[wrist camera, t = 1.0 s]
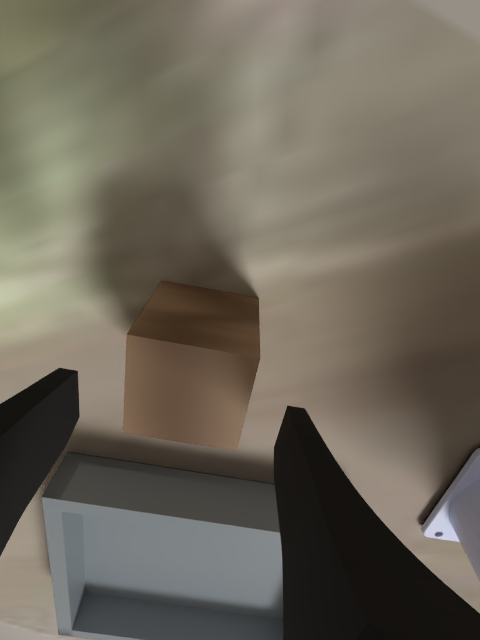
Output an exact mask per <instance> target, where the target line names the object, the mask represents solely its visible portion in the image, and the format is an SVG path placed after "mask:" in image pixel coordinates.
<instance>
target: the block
mask: <svg viewBox="0 0 480 640" xmlns="http://www.w3.org/2000/svg"><path fill="white" fill-rule="evenodd" d="M259 361H260V331H259V298H255V297H249V296H244V295H239V294H233V293H228V292H222V291H217V290H211V289H206V288H200V287H195V286H190V285H184V284H179V283H173V282H168V281H161V282H160V284H159V285H158V287H157V289H156V290H155V292H154V293H153V295H152V296H151V298H150V299H149V301H148V302H147V304H146V306H145V307H144V309H143V310H142V312H141V313H140V315H139V316H138V318H137V319H136V321H135V323H134V324H133V326H132V327H131V329H130V330H129V332H128V333H127V340H126V367H125V393H124V419H123V433H128V434H134V435H140V436H146V437H153V438H159V439H165V440H171V441H177V442H184V443H190V444H196V445H202V446H208V447H215V448H221V449H227V450H233V451H237V447H238V444H239V440H240V436H241V432H242V428H243V424H244V420H245V416H246V412H247V408H248V404H249V400H250V396H251V392H252V388H253V384H254V380H255V376H256V372H257V368H258V364H259Z"/></svg>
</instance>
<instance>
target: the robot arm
mask: <svg viewBox="0 0 480 640" xmlns="http://www.w3.org/2000/svg"><path fill="white" fill-rule="evenodd" d="M79 417H80V416H79V392H78V371H75V370H69V369H63V368H58V369H57V370H55V371H53V372H52V373H50V374H48V375H47V376H45V377H44V378H42V379H40V380H39V381H37V382H36V383H34V384H32V385H31V386H29V387H28V388H26V389H24V390H23V391H21V392H19V393H18V394H16V395H15V396H13V397H11V398H10V399H8V400H6V401H5V402H3V403H1V404H0V556H1V554H2V552H3V550H4V548H5V546H6V544H7V542H8V540H9V538H10V536H11V534H12V532H13V531H14V529H15V527H16V525H17V523H18V521H19V519H20V518H21V516H22V514H23V512H24V511H25V509H26V507H27V506H28V504H29V503H30V501H31V499H32V498H33V496H34V495H35V493H36V492H37V490H38V488H39V487H40V485H41V484H42V482H43V481H44V479H45V478H46V476H47V474H48V473H49V471H50V470H51V468H52V467H53V465H54V463H55V462H56V460H57V459H58V457H59V455H60V454H61V452H62V451H63V449H64V447H65V446H66V444H67V442H68V440H69V438H70V436H71V434H72V432H73V430H74V428H75V425H76V423H77V421H78V419H79ZM274 482H275V492H276V501H277V510H278V519H279V528H280V537H281V548H282V571H283V640H480V614H479V613H478V612H477V611H476V610H475V609H474V608H472V607H471V606H470V605H469V604H468V603H467V602H465V601H464V600H463V599H462V598H461V597H460V596H458V595H457V594H456V593H455V592H454V591H453V590H451V589H450V588H449V587H448V586H447V585H446V584H444V583H443V582H442V581H441V580H440V579H439V578H438V577H437V576H436V575H435V574H433V573H432V572H431V571H430V570H429V569H428V568H427V567H426V566H425V565H424V564H423V563H422V562H421V561H420V560H419V559H418V558H417V557H416V556H415V555H414V554H413V553H412V552H411V551H410V550H409V549H408V548H407V547H406V546H405V545H404V544H403V543H402V542H401V541H400V540H399V539H398V538H397V537H396V536H395V535H394V534H393V533H392V532H391V531H390V529H389V528H388V527H387V526H386V525H385V524H384V523H383V522H382V521H381V520H380V518H379V517H378V516H377V515H376V514H375V513H374V511H373V510H372V509H371V508H370V506H369V505H368V504H367V503H366V502H365V500H364V499H363V498H362V497H361V495H360V494H359V493H358V492H357V490H356V489H355V488H354V486H353V485H352V483H351V482H350V481H349V479H348V478H347V476H346V475H345V474H344V472H343V471H342V469H341V468H340V466H339V465H338V463H337V462H336V460H335V458H334V457H333V455H332V454H331V452H330V451H329V449H328V447H327V446H326V444H325V442H324V441H323V439H322V437H321V436H320V434H319V432H318V431H317V429H316V427H315V425H314V424H313V422H312V420H311V418H310V416H309V415H308V413H307V411H306V410H305V409H304V408H298V407H292V406H287V409H286V412H285V415H284V418H283V421H282V424H281V427H280V431H279V434H278V437H277V440H276V443H275V446H274ZM421 530H422V532H423V535H424V536H426V537H430V538H437V539H443V540H450V541H457V542H460V543H461V545H462V547H463V549H464V551H465V553H466V555H467V557H468V559H469V561H470V563H471V565H472V566H473V568H474V570H475V572H476V574H477V576H478V578H479V580H480V448H478V449H476V450H475V451H474V453H473V454H472V455H471V457H470V458H469V460H468V461H467V463H466V464H465V465H464V467H463V468H462V470H461V471H460V473H459V474H458V475H457V477H456V478H455V480H454V481H453V483H452V484H451V485H450V487H449V488H448V490H447V491H446V493H445V494H444V495H443V497H442V498H441V500H440V501H439V503H438V504H437V505H436V507H435V508H434V510H433V511H432V513H431V514H430V516H429V517H428V518H427V520H426V521H425V523H424V524H423V526H422V527H421Z"/></svg>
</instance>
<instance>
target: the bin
mask: <svg viewBox="0 0 480 640" xmlns="http://www.w3.org/2000/svg"><path fill="white" fill-rule="evenodd" d="M42 505H43V513H44V521H45V530H46V538H47V546H48V554H49V562H50V570H51V578H52V586H53V594H54V602H55V610H56V618H57V626H58V634H59V635H64V636H72V637H79V638H87V639H95V640H283V571H282V548H281V537H280V528H279V519H278V510H277V501H276V492H275V485H274V484H268V483H261V482H255V481H249V480H242V479H236V478H229V477H223V476H217V475H210V474H204V473H197V472H191V471H185V470H178V469H172V468H166V467H159V466H153V465H146V464H140V463H134V462H127V461H121V460H114V459H108V458H102V457H95V456H89V455H82V454H76V453H70V452H68V453H67V455H66V456H65V458H64V460H63V462H62V463H61V465H60V467H59V468H58V470H57V472H56V473H55V475H54V477H53V478H52V480H51V482H50V484H49V485H48V487H47V489H46V490H45V492H44V494H43V495H42Z"/></svg>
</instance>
